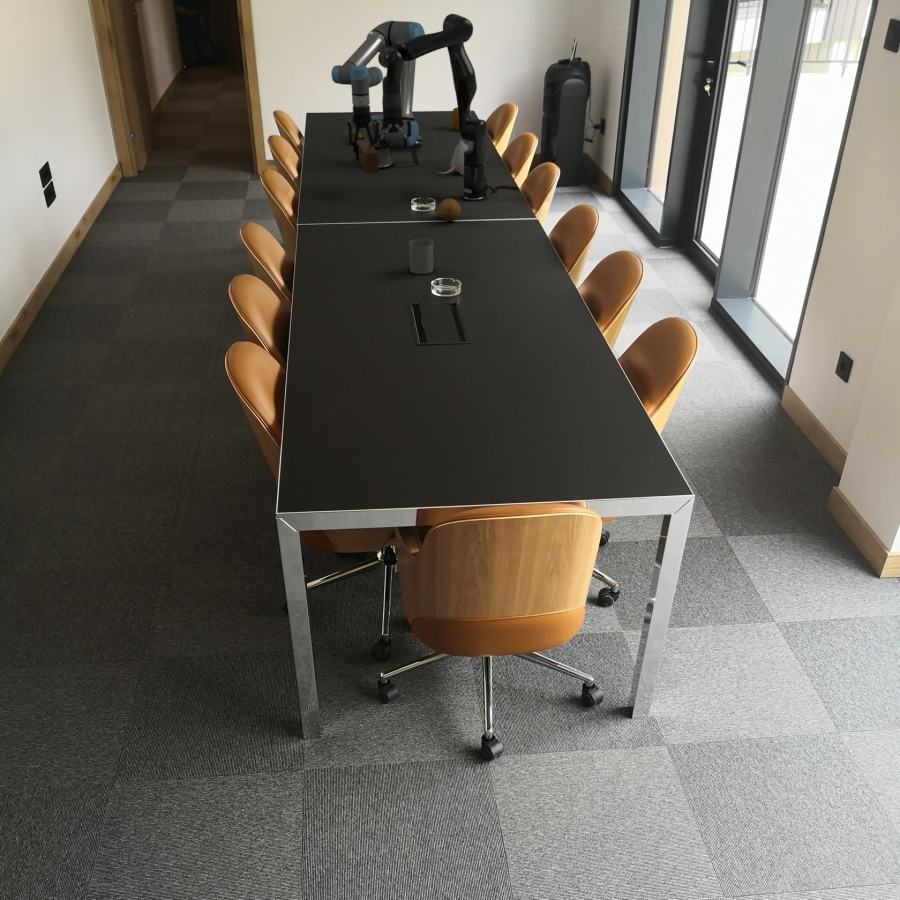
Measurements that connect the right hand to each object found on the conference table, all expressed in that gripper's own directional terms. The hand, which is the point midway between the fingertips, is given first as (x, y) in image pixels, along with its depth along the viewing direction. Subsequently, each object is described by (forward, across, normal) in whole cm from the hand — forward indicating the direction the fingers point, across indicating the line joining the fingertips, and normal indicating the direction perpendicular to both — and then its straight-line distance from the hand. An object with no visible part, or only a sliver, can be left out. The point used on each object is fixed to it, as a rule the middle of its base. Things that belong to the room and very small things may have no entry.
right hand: (393, 148), depth 344 cm
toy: (+28, +36, +58) cm, 73 cm away
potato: (+28, +21, -8) cm, 36 cm away
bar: (+16, -7, +37) cm, 41 cm away
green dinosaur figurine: (+28, +4, +129) cm, 132 cm away
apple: (+28, +57, +148) cm, 161 cm away
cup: (+28, +1, -62) cm, 68 cm away
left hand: (+15, -8, +45) cm, 48 cm away
